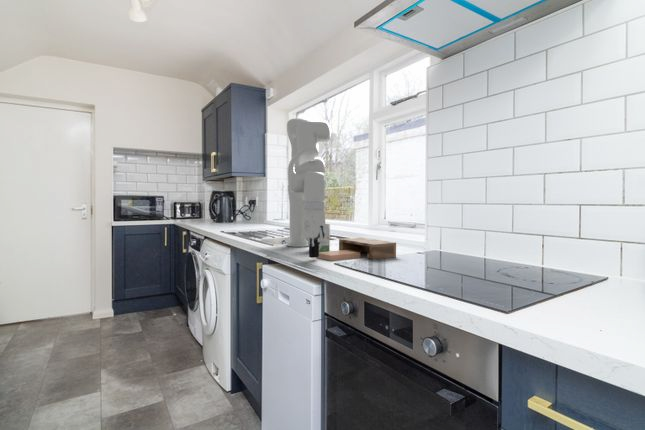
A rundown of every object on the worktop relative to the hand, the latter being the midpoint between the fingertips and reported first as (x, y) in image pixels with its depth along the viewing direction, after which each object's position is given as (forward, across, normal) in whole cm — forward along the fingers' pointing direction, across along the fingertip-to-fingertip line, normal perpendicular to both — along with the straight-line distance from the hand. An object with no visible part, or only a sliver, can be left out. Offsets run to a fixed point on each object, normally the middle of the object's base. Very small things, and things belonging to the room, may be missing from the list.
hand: (313, 256), depth 126 cm
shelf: (+1, 0, +24) cm, 24 cm away
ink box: (+1, -19, +14) cm, 24 cm away
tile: (+2, 0, +11) cm, 11 cm away
